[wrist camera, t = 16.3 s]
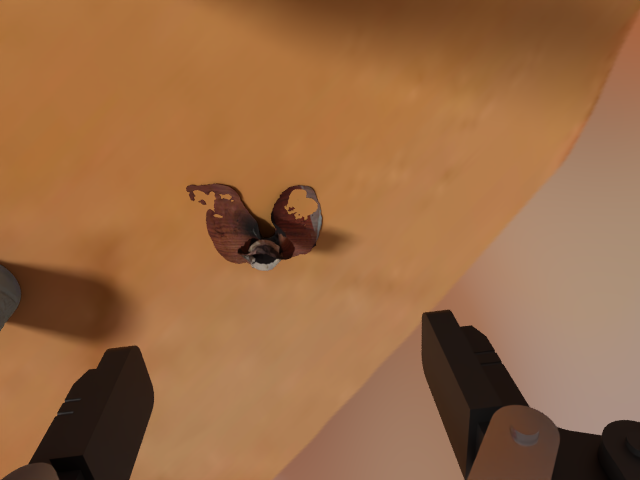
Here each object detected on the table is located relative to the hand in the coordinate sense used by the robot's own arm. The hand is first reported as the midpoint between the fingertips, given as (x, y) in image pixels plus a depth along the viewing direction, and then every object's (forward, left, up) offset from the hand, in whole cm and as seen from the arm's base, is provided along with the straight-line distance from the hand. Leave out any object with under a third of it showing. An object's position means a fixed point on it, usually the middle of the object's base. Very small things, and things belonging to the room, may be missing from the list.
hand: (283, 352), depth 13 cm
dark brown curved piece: (+8, -10, -39) cm, 41 cm away
